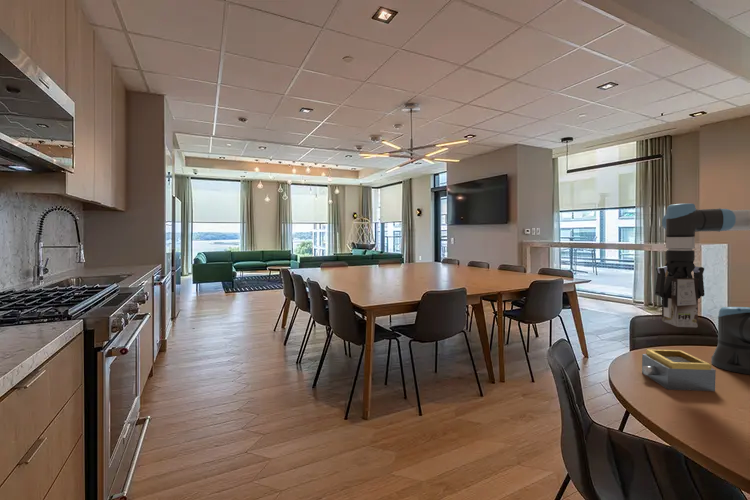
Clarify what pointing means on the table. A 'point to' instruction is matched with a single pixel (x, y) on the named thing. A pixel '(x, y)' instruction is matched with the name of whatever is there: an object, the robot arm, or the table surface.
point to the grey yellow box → (678, 370)
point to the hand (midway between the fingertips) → (679, 316)
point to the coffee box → (683, 302)
